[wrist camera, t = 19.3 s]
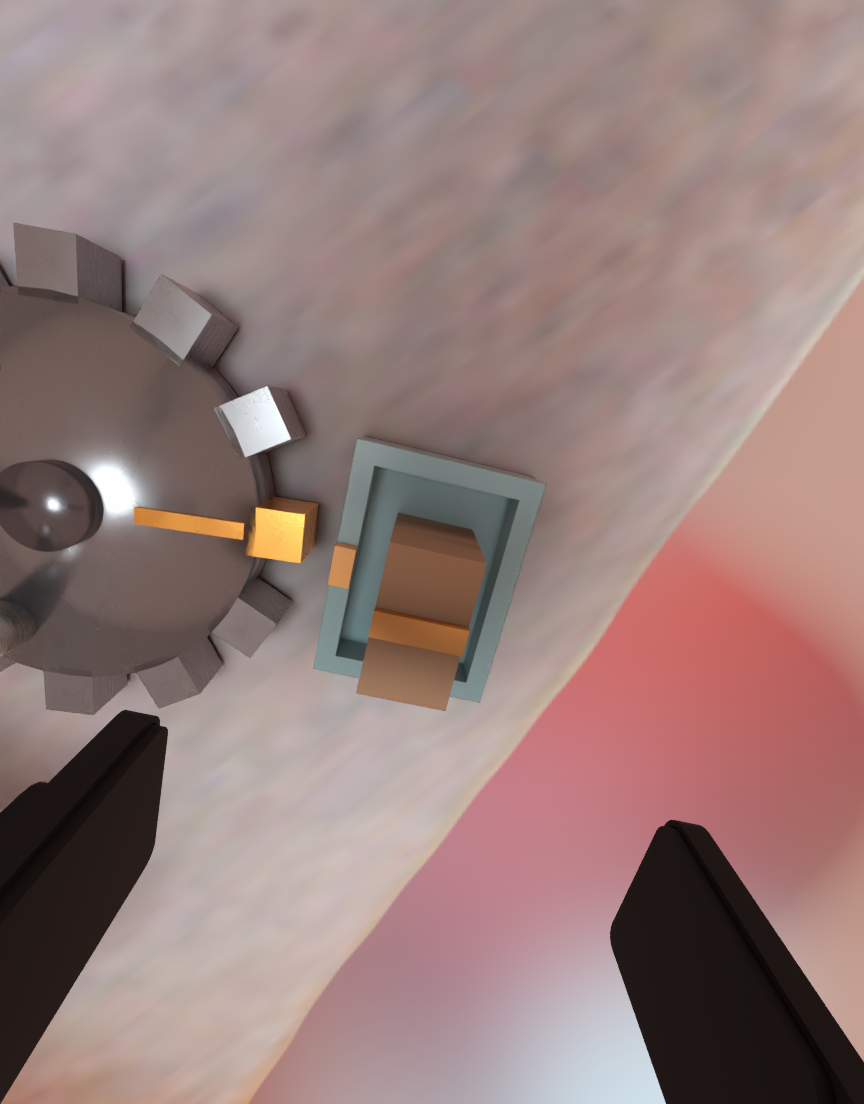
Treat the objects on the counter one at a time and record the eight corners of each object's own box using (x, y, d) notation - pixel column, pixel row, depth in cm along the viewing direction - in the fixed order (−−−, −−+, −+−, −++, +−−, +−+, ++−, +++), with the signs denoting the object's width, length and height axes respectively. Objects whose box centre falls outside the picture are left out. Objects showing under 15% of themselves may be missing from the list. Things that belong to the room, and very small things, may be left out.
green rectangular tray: (364, 436, 25) (355, 439, 21) (532, 476, 25) (549, 486, 22) (324, 642, 28) (310, 675, 24) (474, 673, 29) (480, 709, 25)
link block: (397, 512, 25) (388, 543, 19) (472, 529, 25) (488, 566, 19) (370, 632, 27) (354, 696, 21) (441, 647, 27) (445, 715, 21)
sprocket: (-165, 206, 21) (-418, 116, 15) (338, 296, 23) (304, 249, 16) (-96, 655, 27) (-255, 729, 21) (298, 706, 29) (262, 790, 22)
